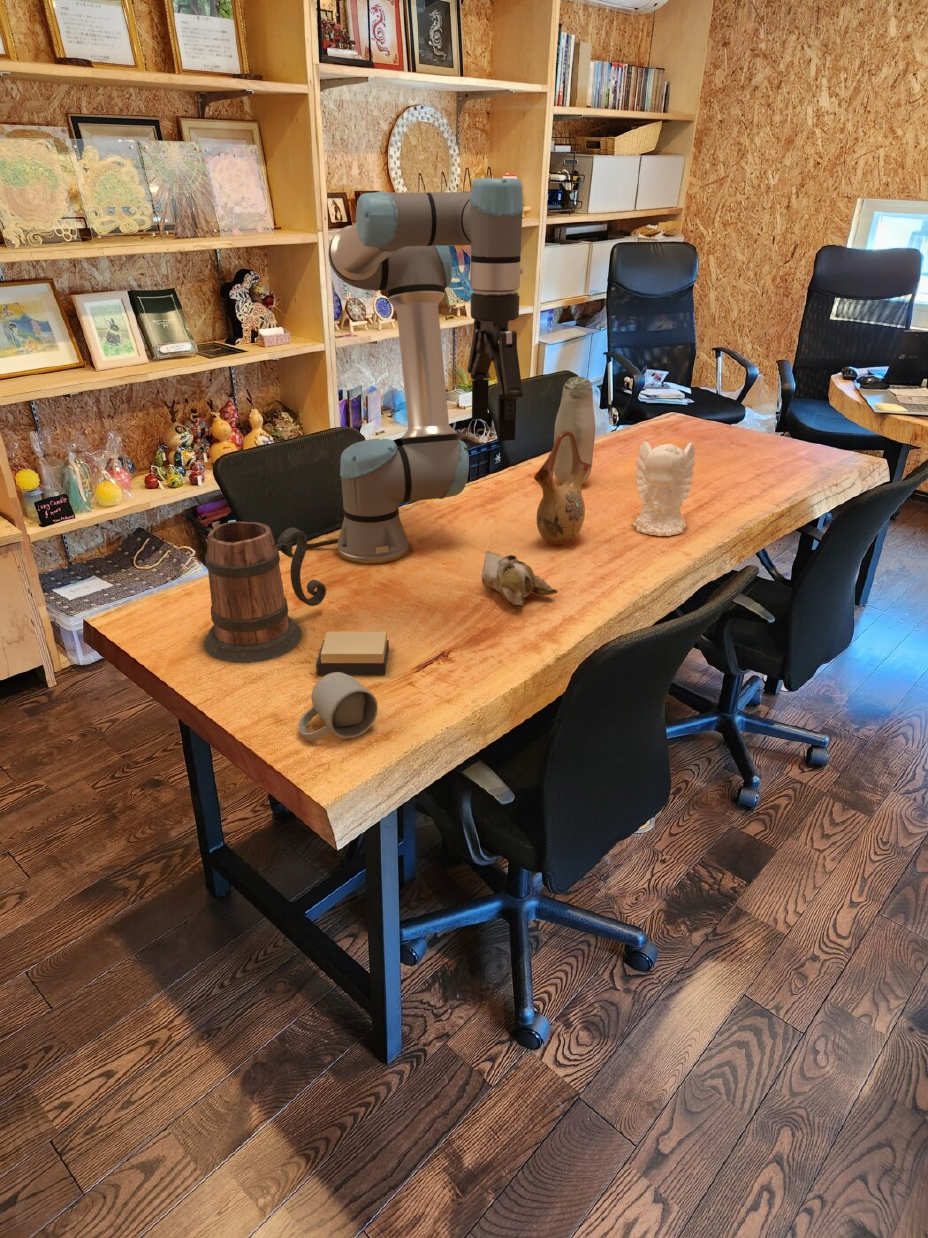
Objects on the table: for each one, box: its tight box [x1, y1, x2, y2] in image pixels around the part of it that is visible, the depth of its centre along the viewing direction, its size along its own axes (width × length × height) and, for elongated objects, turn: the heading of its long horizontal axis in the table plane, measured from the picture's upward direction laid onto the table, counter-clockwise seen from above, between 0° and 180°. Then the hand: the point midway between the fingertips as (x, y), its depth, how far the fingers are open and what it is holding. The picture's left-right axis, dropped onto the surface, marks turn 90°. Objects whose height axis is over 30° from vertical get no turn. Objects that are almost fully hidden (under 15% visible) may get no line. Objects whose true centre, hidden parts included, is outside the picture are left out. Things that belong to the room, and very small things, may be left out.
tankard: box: [203, 521, 327, 664], centre depth 142 cm, size 24×17×20 cm
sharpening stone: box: [315, 631, 390, 676], centre depth 136 cm, size 11×8×4 cm
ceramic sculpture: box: [481, 550, 559, 609], centre depth 157 cm, size 11×9×15 cm
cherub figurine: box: [632, 441, 696, 537], centre depth 187 cm, size 13×12×20 cm
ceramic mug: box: [297, 672, 379, 742], centre depth 119 cm, size 11×8×8 cm
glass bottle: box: [553, 376, 596, 485], centre depth 211 cm, size 10×10×28 cm
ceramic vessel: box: [533, 431, 591, 547], centre depth 177 cm, size 16×9×25 cm, turn 132°
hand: (492, 429), depth 136 cm, fingers open, 13 cm apart
